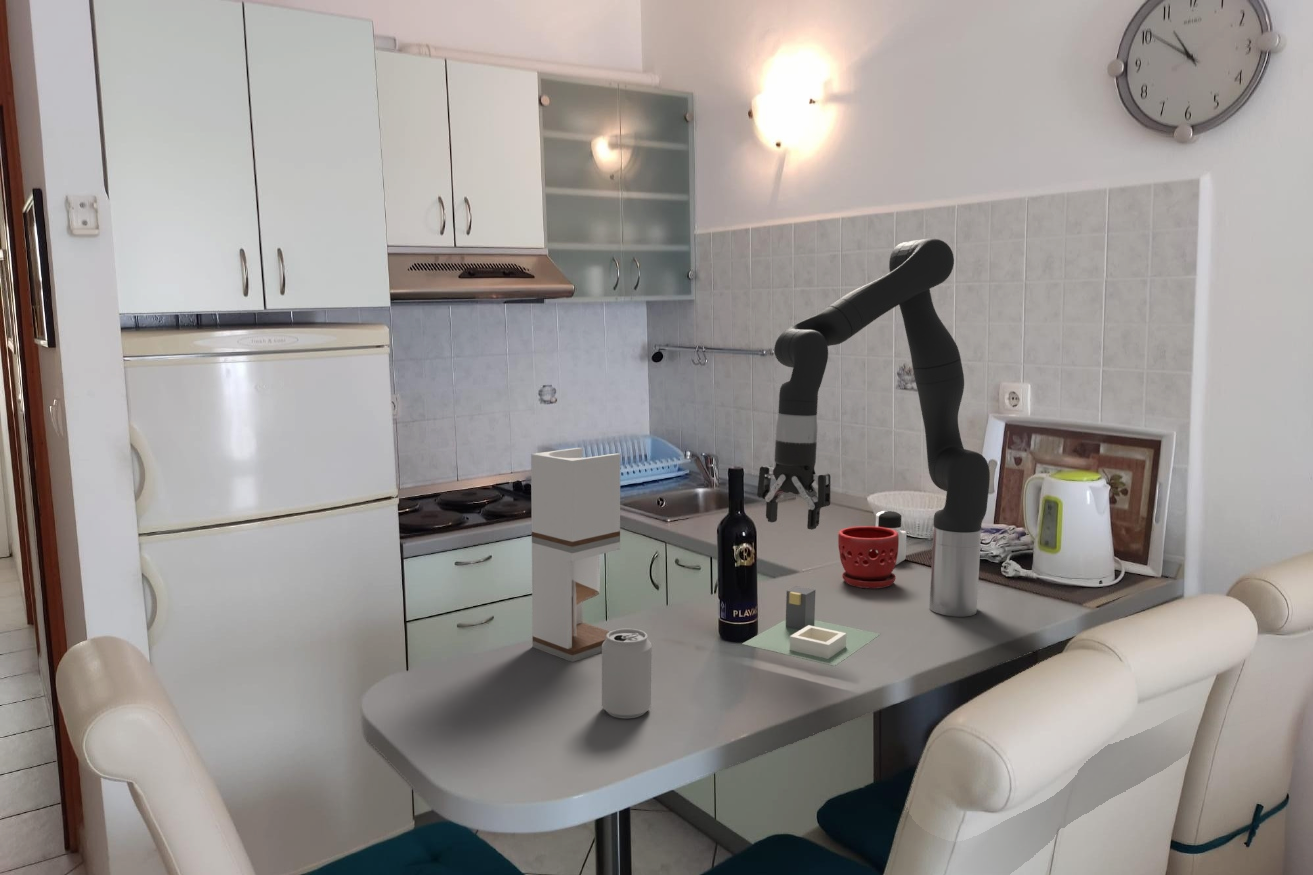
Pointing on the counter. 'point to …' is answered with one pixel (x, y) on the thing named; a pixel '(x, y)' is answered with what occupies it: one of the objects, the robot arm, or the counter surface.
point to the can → (626, 673)
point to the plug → (800, 607)
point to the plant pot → (868, 555)
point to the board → (813, 641)
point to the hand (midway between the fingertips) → (791, 525)
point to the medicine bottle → (893, 522)
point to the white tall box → (570, 546)
